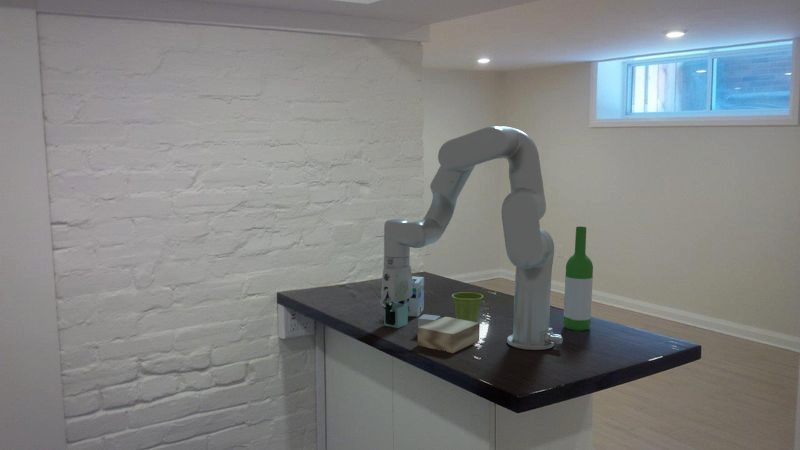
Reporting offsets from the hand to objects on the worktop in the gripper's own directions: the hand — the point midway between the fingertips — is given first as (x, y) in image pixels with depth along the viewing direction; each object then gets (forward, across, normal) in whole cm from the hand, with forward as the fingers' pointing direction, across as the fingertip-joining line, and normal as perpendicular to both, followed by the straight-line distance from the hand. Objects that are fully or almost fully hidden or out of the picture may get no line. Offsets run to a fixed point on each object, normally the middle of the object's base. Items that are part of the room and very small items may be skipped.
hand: (395, 321), depth 209 cm
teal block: (+1, 0, 0) cm, 1 cm away
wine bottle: (+1, +30, -44) cm, 53 cm away
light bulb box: (+1, +15, +5) cm, 16 cm away
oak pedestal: (+1, -6, -22) cm, 23 cm away
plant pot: (+1, +14, -16) cm, 21 cm away
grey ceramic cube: (+1, -2, -13) cm, 13 cm away
